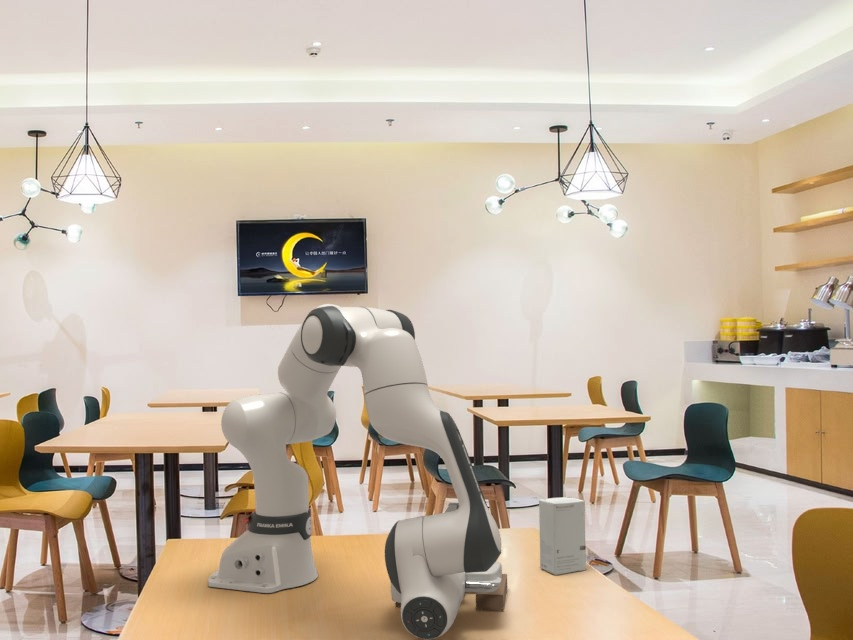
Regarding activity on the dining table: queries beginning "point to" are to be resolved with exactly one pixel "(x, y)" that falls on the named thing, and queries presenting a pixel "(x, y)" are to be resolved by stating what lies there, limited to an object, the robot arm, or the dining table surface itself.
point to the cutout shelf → (488, 598)
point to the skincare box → (562, 535)
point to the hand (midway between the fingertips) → (450, 561)
